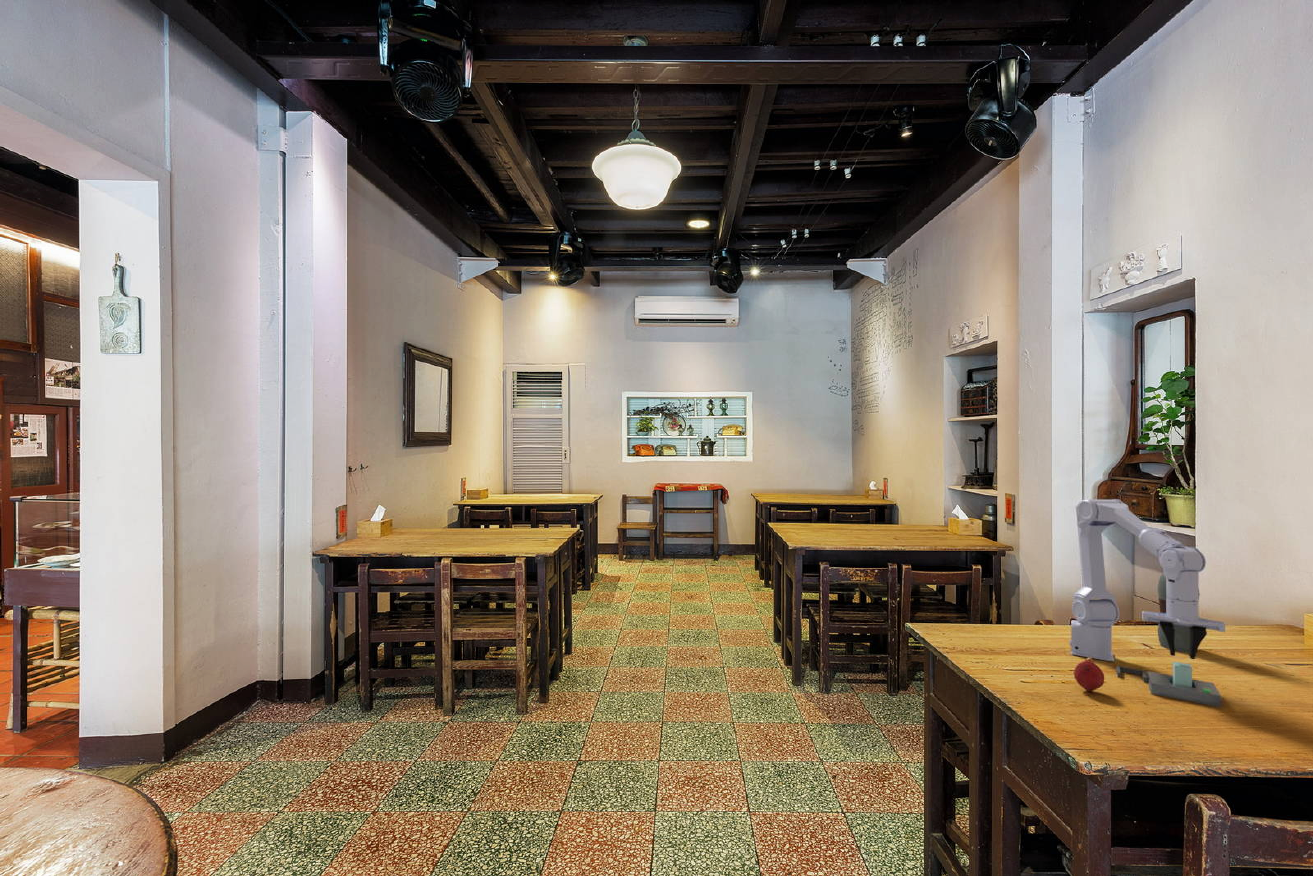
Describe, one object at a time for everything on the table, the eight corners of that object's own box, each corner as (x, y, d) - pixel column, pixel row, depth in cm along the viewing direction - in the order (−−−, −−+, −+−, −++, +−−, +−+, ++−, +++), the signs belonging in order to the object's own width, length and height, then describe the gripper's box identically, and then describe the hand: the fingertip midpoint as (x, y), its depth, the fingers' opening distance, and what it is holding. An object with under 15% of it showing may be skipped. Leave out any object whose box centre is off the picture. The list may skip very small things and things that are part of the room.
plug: (1174, 695, 138) (1174, 665, 138) (1173, 690, 140) (1172, 661, 140) (1191, 698, 136) (1191, 668, 136) (1189, 694, 138) (1189, 664, 138)
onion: (1096, 698, 135) (1096, 664, 135) (1068, 689, 140) (1068, 655, 140) (1109, 694, 138) (1109, 660, 138) (1082, 685, 143) (1082, 652, 143)
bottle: (1183, 654, 165) (1183, 548, 166) (1149, 643, 174) (1149, 543, 175) (1208, 652, 167) (1207, 547, 168) (1173, 641, 176) (1173, 542, 177)
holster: (1117, 677, 148) (1117, 672, 148) (1116, 670, 153) (1116, 665, 153) (1146, 682, 145) (1146, 677, 145) (1144, 675, 149) (1144, 670, 149)
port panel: (1151, 693, 138) (1151, 680, 138) (1147, 681, 145) (1147, 669, 145) (1221, 707, 131) (1220, 693, 131) (1213, 694, 138) (1213, 680, 138)
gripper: (1144, 597, 139) (1144, 654, 139) (1227, 607, 131) (1228, 668, 131) (1141, 591, 145) (1141, 646, 145) (1221, 601, 137) (1221, 659, 137)
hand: (1182, 656), depth 138 cm, fingers open, 3 cm apart
